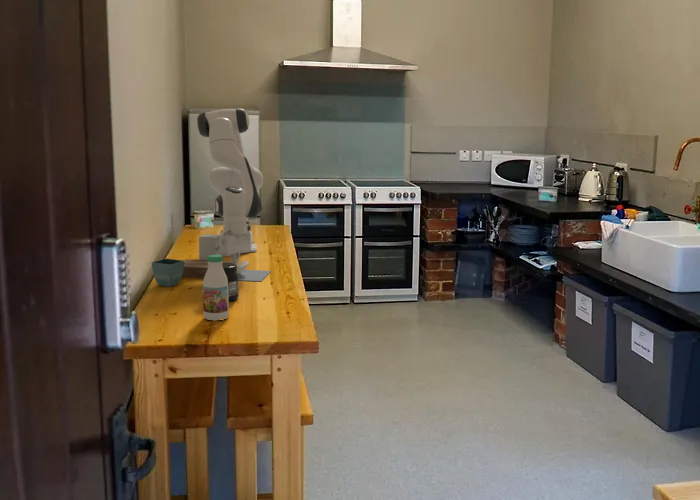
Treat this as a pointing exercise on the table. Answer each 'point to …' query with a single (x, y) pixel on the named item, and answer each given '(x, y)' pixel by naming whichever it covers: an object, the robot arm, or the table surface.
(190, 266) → the board
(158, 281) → the flower pot
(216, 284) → the milk bottle
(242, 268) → the beige rectangular block
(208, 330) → the table surface
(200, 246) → the supplement box
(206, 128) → the robot arm
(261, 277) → the mat
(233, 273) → the supplement container
